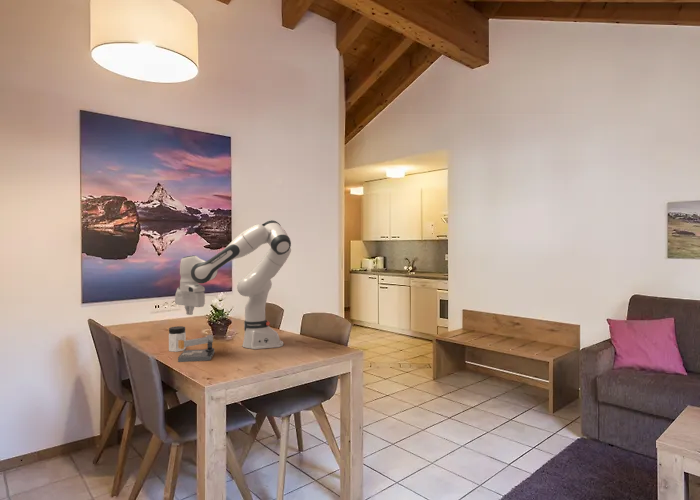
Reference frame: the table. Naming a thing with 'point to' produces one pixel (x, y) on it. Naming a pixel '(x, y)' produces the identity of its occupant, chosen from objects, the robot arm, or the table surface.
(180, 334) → the jar
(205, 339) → the bar
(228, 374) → the table surface
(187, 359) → the chassis plate
